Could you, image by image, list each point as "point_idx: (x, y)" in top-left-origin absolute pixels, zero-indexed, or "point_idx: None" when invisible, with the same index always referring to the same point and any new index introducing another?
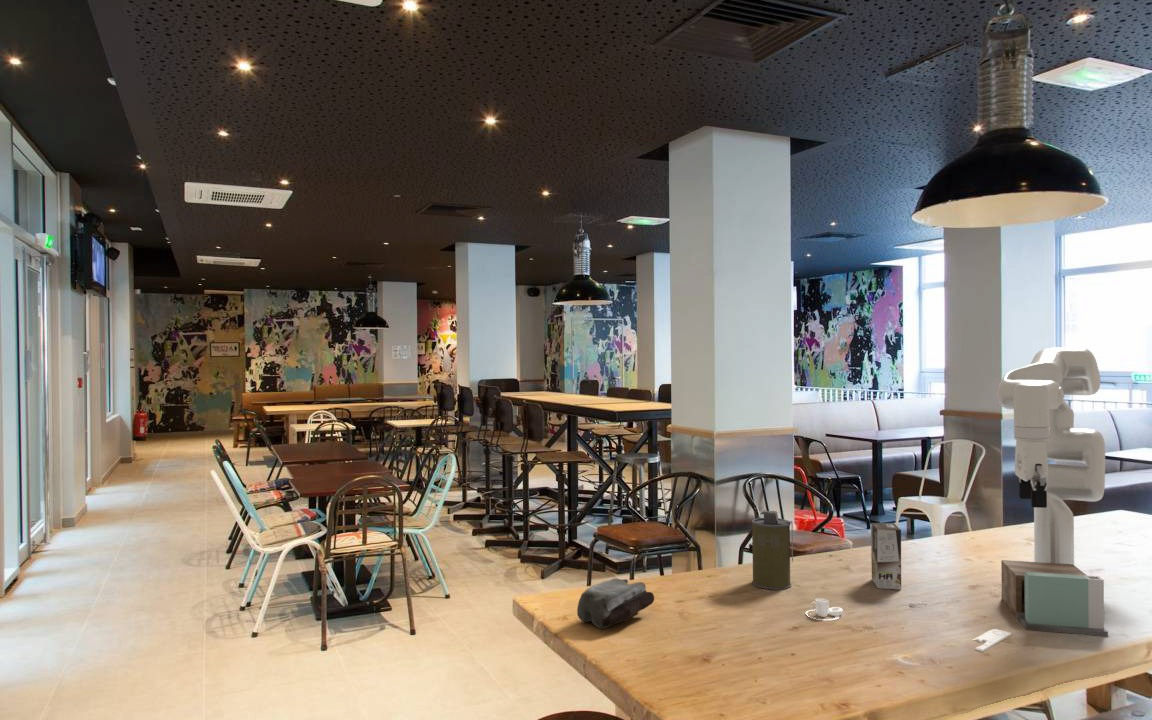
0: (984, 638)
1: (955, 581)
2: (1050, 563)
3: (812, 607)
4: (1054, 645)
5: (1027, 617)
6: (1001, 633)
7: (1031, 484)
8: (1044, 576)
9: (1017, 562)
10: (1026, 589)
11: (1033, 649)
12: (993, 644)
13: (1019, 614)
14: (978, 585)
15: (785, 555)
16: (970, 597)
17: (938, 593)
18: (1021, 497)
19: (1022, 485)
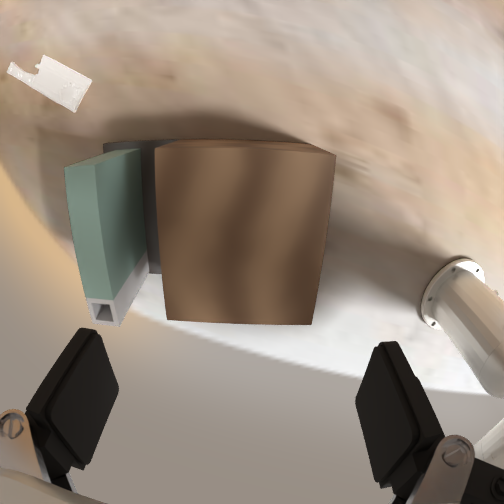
0: (43, 71)
1: (425, 94)
2: (313, 279)
3: None
4: (50, 173)
5: (119, 150)
6: (64, 96)
7: (35, 463)
8: (68, 206)
9: (313, 194)
10: (99, 158)
11: (27, 139)
12: (27, 84)
13: (167, 143)
14: (405, 131)
15: None
16: (310, 79)
17: (326, 22)
18: (376, 351)
19: (401, 433)
